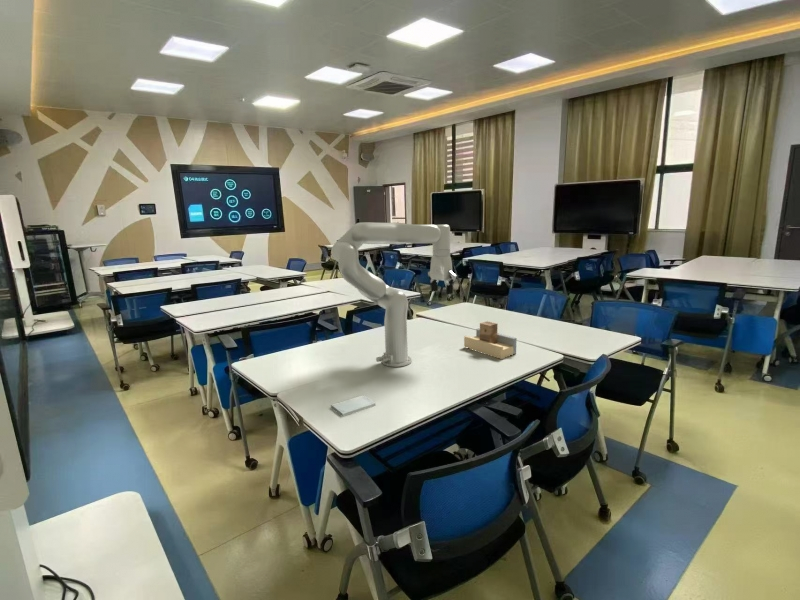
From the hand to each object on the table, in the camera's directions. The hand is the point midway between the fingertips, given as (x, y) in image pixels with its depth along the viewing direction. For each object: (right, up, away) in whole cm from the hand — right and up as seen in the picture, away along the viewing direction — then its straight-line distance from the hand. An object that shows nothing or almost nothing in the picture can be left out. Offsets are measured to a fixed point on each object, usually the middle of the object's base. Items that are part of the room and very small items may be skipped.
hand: (441, 292), depth 179 cm
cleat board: (+23, -27, +8) cm, 36 cm away
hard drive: (-34, -39, -44) cm, 68 cm away
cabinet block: (+22, -23, +7) cm, 32 cm away
